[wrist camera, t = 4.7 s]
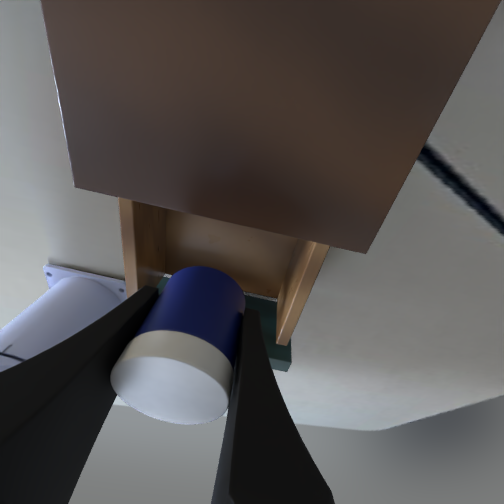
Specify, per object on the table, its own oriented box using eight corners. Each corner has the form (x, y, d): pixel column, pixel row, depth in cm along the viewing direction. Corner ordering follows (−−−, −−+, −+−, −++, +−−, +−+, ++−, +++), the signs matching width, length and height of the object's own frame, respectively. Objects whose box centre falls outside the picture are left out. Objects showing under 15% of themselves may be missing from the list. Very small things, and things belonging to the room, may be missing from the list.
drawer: (275, 342, 25) (273, 401, 21) (154, 315, 25) (123, 368, 20) (350, 150, 16) (380, 175, 11) (151, 103, 15) (89, 107, 10)
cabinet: (336, 197, 18) (366, 254, 12) (149, 154, 18) (73, 187, 11) (488, -182, 10) (885, -718, 3) (141, -273, 10) (-153, -1036, 3)
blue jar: (239, 334, 14) (220, 434, 10) (164, 317, 14) (115, 411, 10) (254, 275, 12) (238, 372, 8) (166, 255, 12) (102, 343, 7)
